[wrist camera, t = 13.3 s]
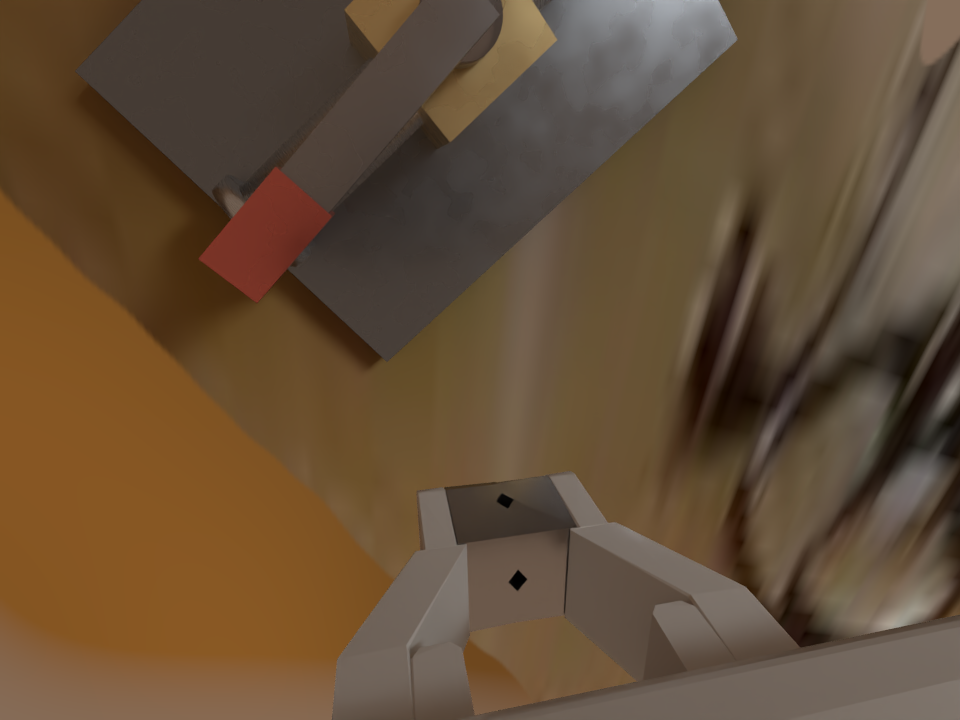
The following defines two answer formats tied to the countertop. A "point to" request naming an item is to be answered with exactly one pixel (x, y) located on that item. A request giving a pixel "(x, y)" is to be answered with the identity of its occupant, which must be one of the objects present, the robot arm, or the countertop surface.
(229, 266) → the lever
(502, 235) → the valve assembly
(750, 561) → the countertop surface
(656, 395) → the countertop surface
